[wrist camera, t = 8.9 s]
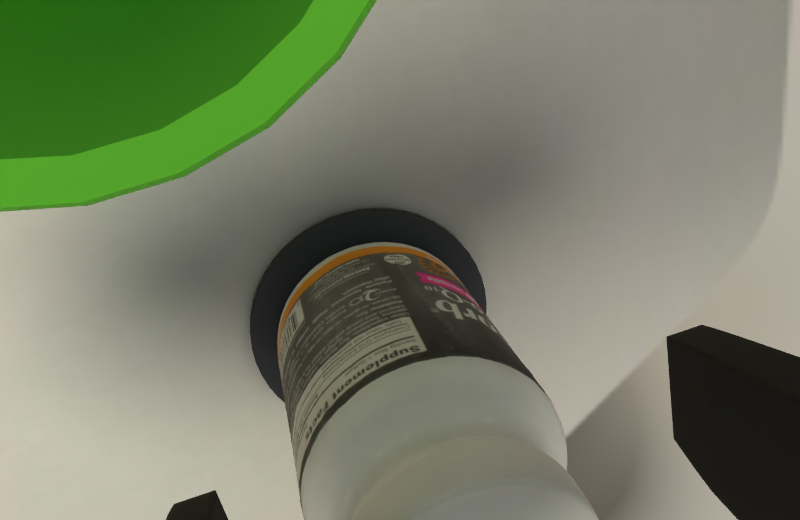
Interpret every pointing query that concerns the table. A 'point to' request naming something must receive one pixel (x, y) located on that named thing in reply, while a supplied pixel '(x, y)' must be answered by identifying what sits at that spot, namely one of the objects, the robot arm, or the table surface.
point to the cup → (148, 87)
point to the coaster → (335, 239)
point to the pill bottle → (414, 399)
